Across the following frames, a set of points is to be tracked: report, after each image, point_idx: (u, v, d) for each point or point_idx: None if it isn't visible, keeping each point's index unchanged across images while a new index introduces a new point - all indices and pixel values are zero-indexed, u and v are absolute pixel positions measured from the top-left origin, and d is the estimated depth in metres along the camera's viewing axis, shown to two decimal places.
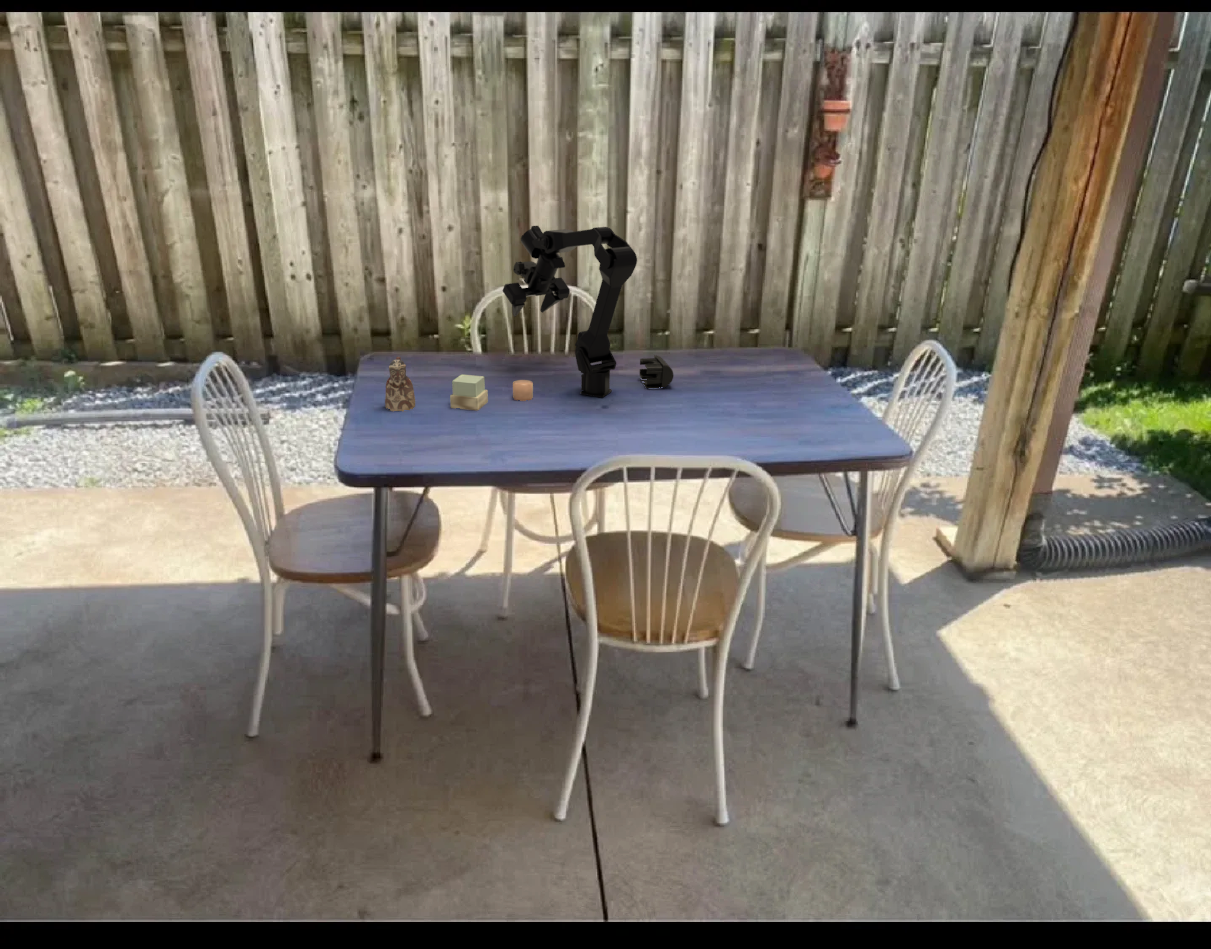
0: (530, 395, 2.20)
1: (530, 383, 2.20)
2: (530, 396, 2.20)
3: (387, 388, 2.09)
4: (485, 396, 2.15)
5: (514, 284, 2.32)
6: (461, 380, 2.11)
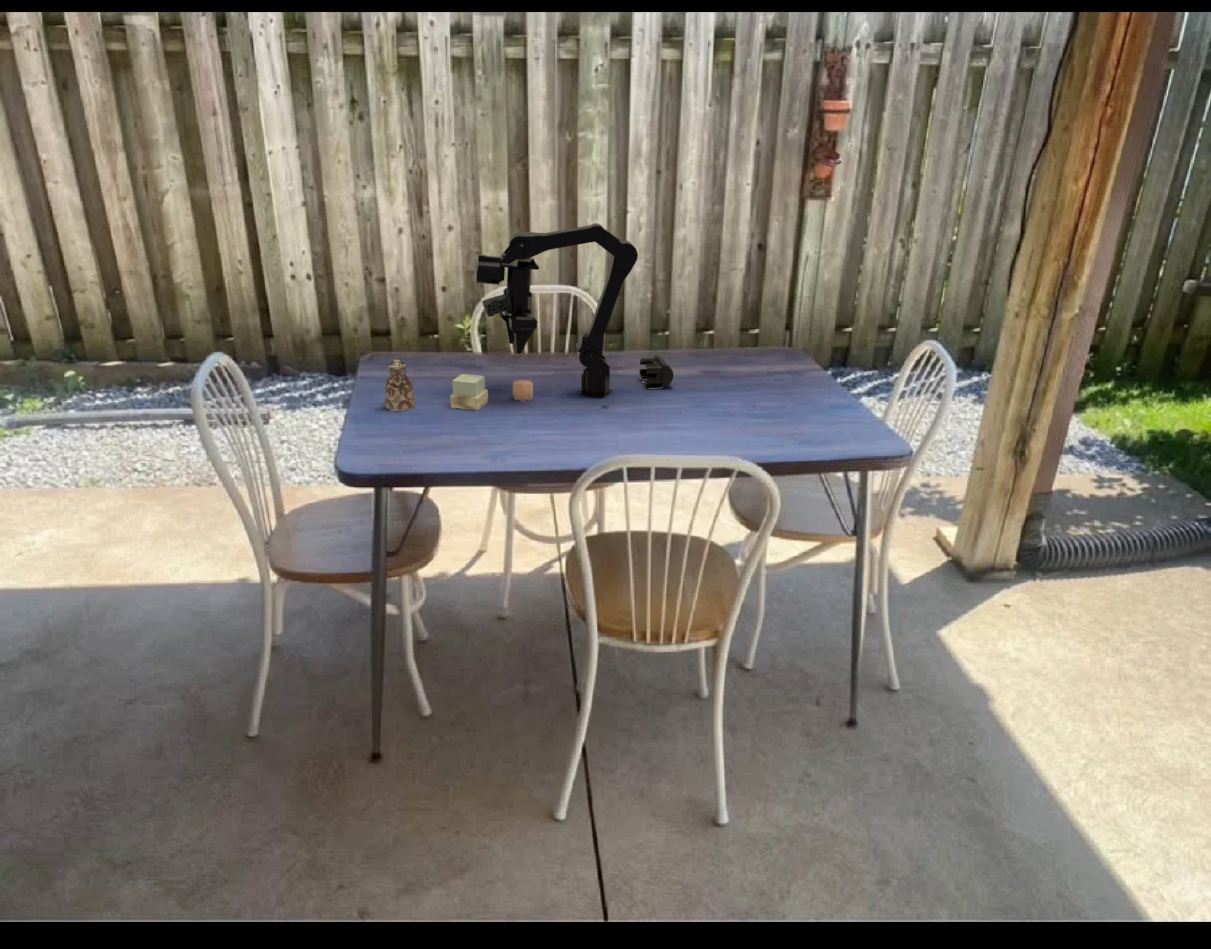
0: (530, 395, 2.20)
1: (530, 383, 2.20)
2: (530, 396, 2.20)
3: (387, 388, 2.09)
4: (485, 396, 2.15)
5: (516, 315, 2.09)
6: (461, 380, 2.11)
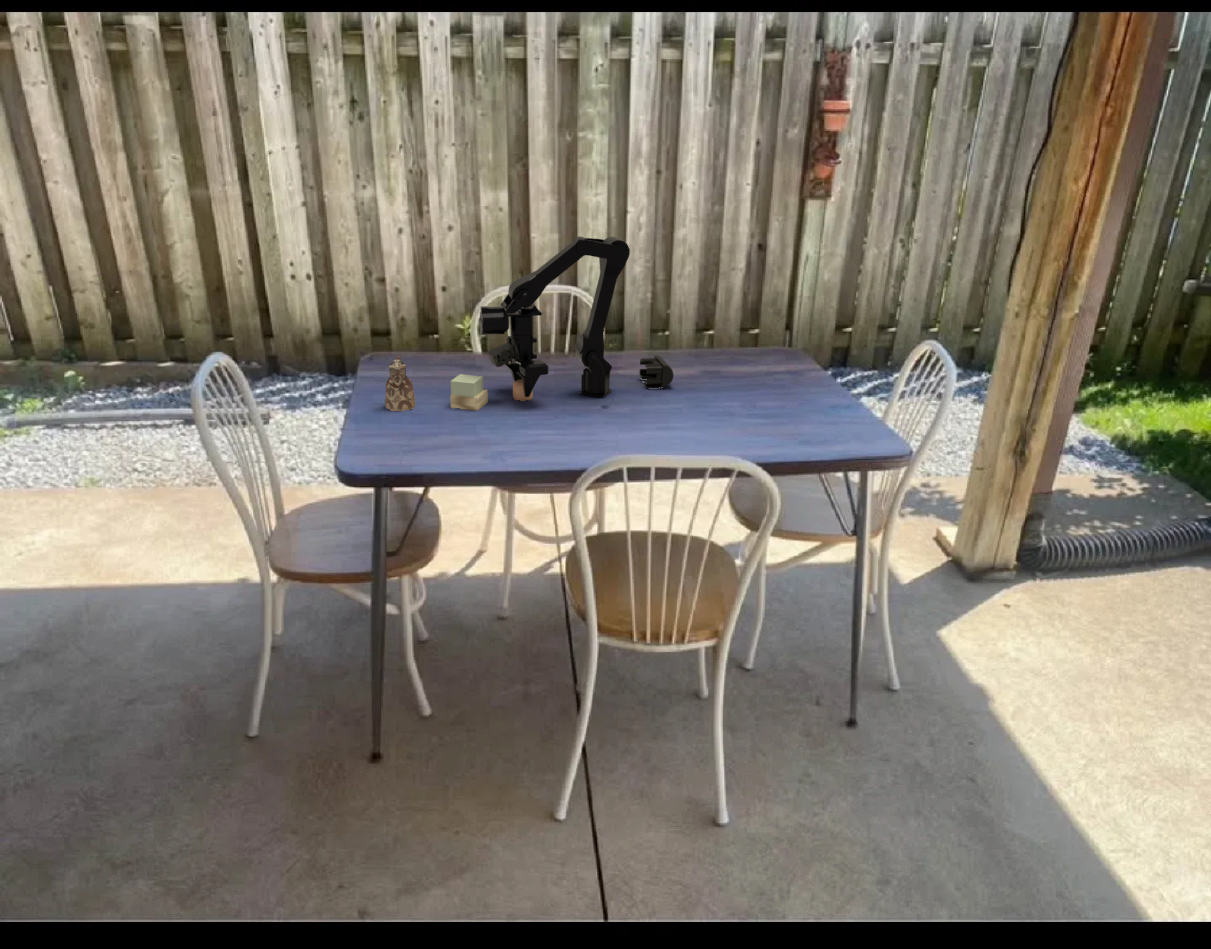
0: (530, 395, 2.20)
1: None
2: (530, 396, 2.20)
3: (387, 388, 2.09)
4: (485, 396, 2.15)
5: (527, 362, 2.11)
6: (459, 380, 2.11)
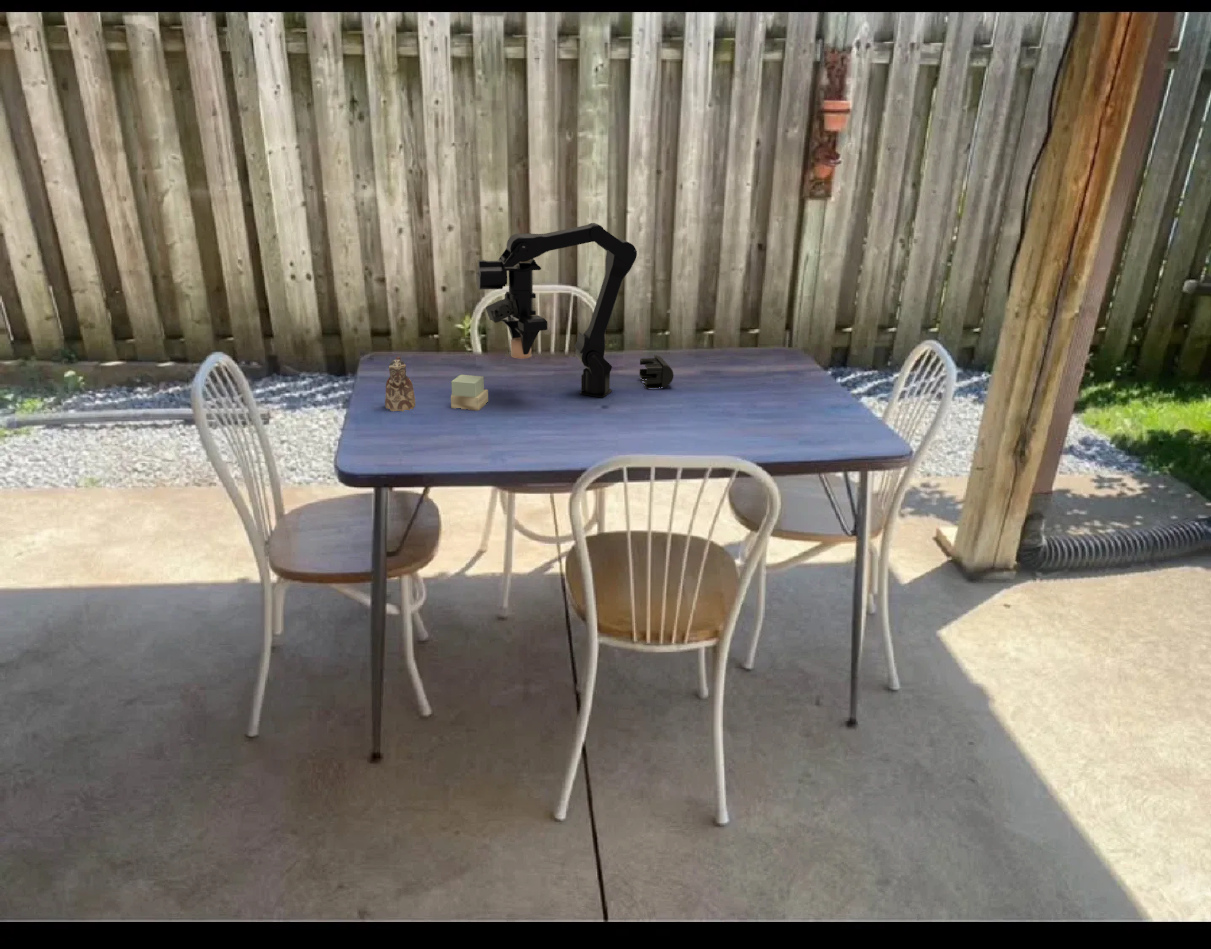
0: None
1: None
2: (528, 353, 2.15)
3: (387, 388, 2.09)
4: (485, 396, 2.15)
5: (526, 317, 2.06)
6: (460, 380, 2.11)
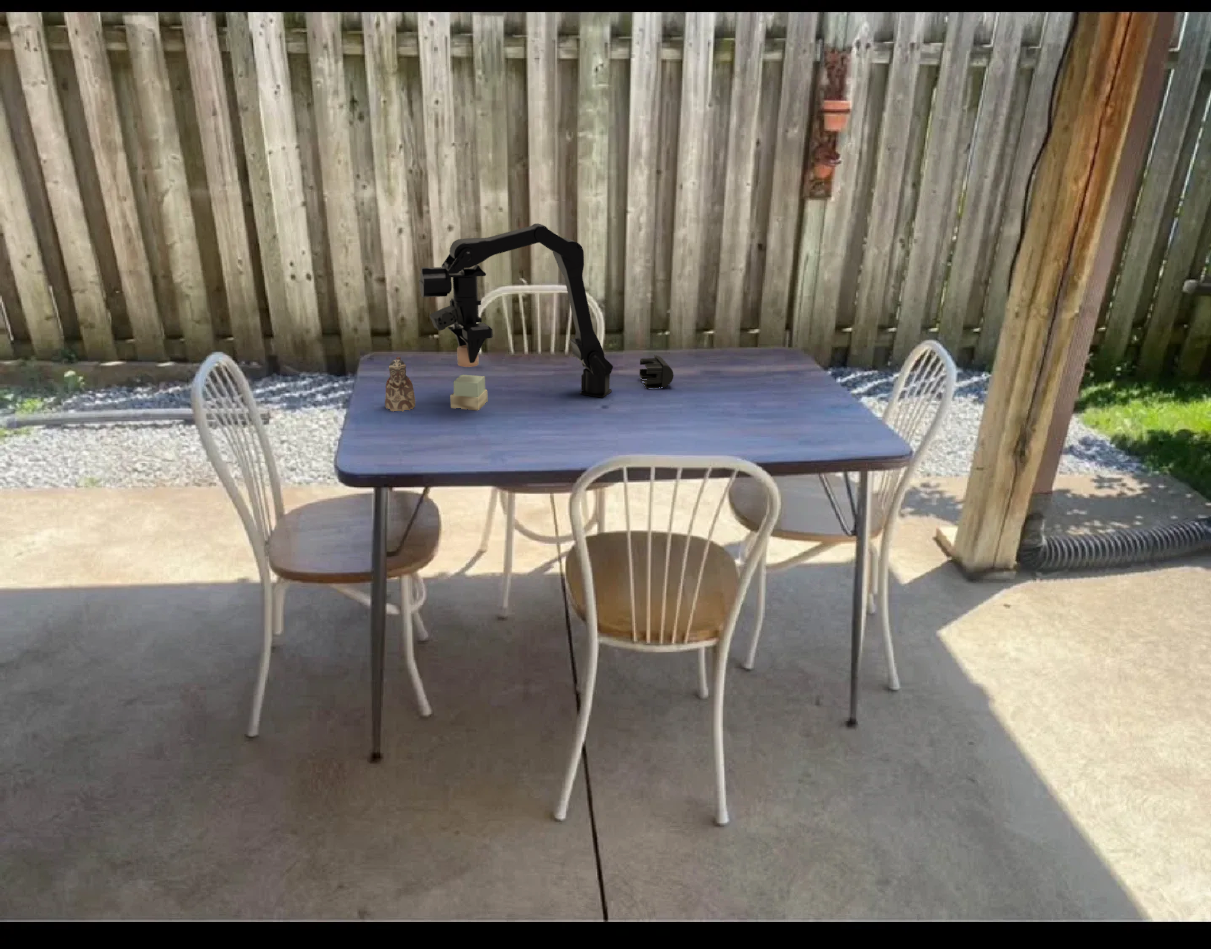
0: (475, 361, 2.09)
1: None
2: (475, 362, 2.10)
3: (387, 388, 2.09)
4: (485, 396, 2.16)
5: (470, 325, 2.01)
6: (462, 380, 2.11)
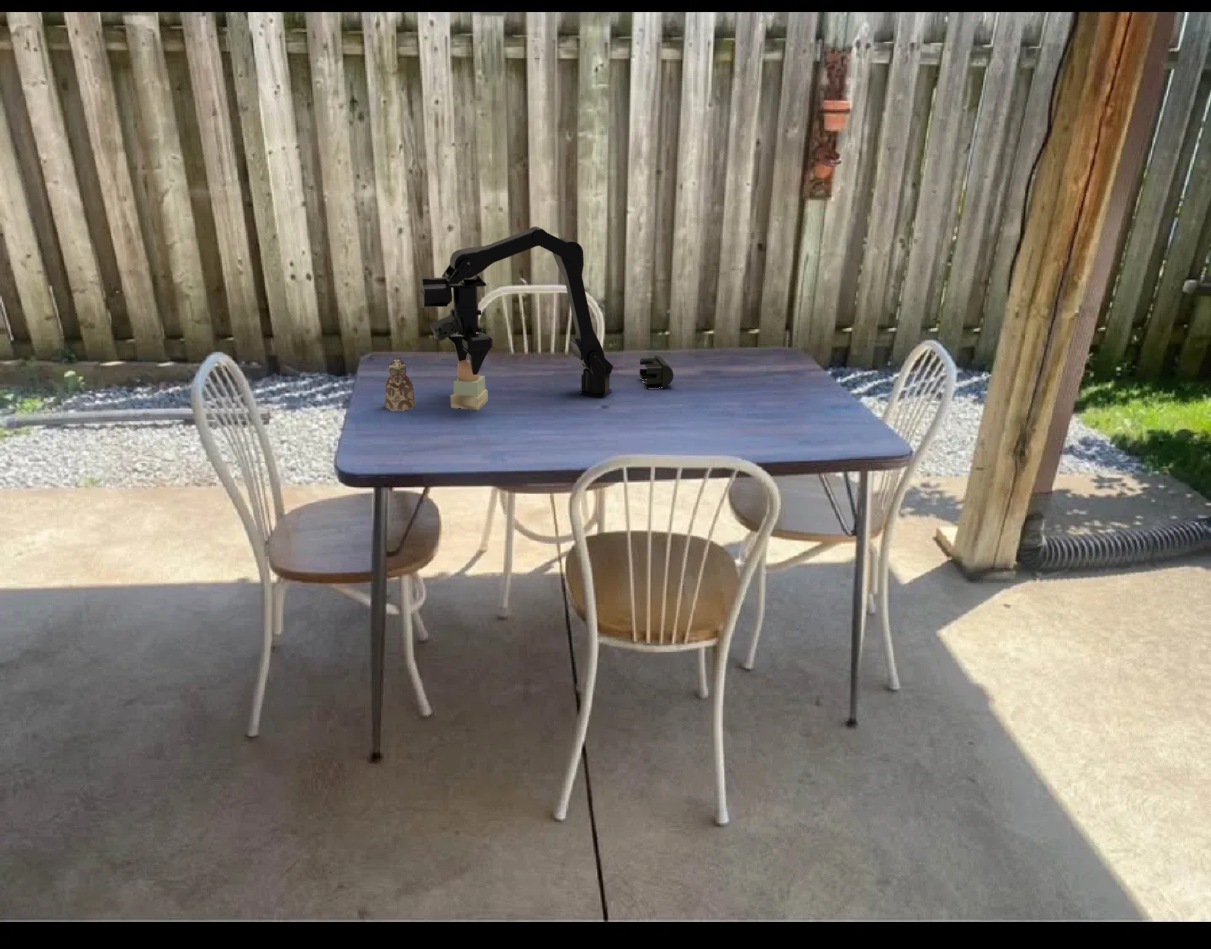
0: (475, 375, 2.11)
1: None
2: (475, 376, 2.11)
3: (387, 388, 2.09)
4: (485, 396, 2.16)
5: (470, 335, 2.02)
6: None
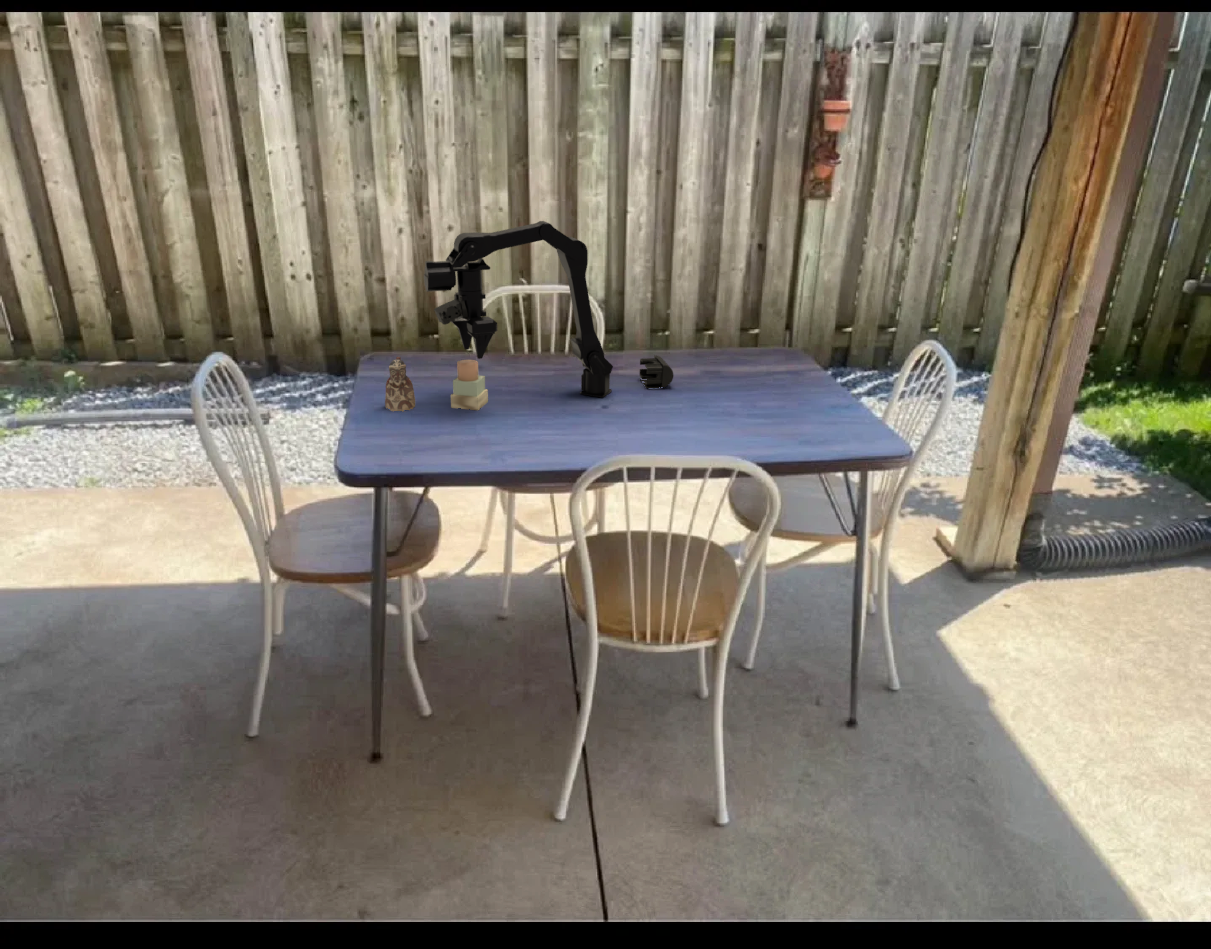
0: (475, 375, 2.11)
1: (475, 363, 2.11)
2: (475, 376, 2.11)
3: (387, 388, 2.09)
4: (485, 396, 2.16)
5: (474, 319, 2.01)
6: None
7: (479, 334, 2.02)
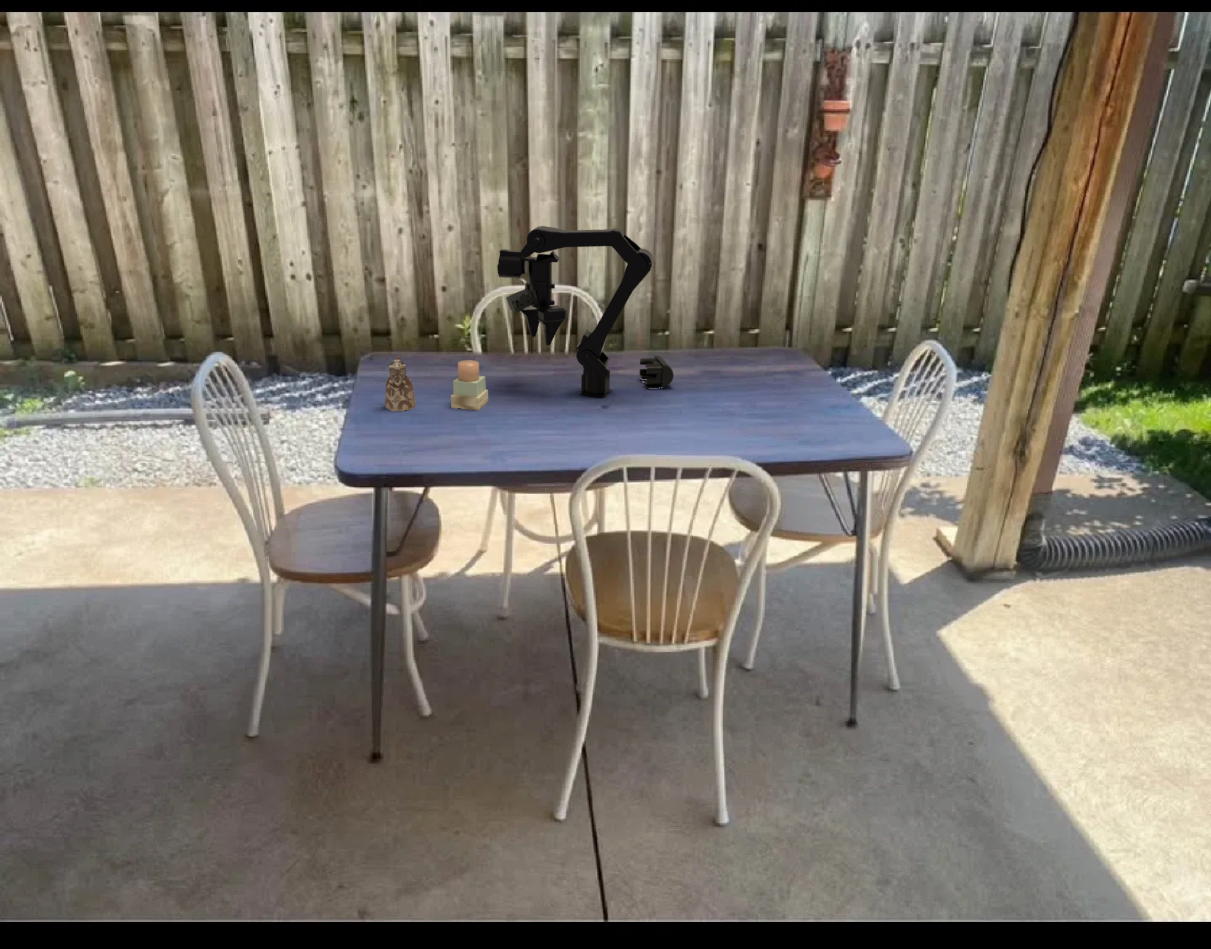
0: (475, 376, 2.11)
1: (476, 363, 2.11)
2: (475, 377, 2.11)
3: (387, 388, 2.09)
4: (485, 396, 2.15)
5: (545, 307, 2.13)
6: None
7: (549, 322, 2.13)
